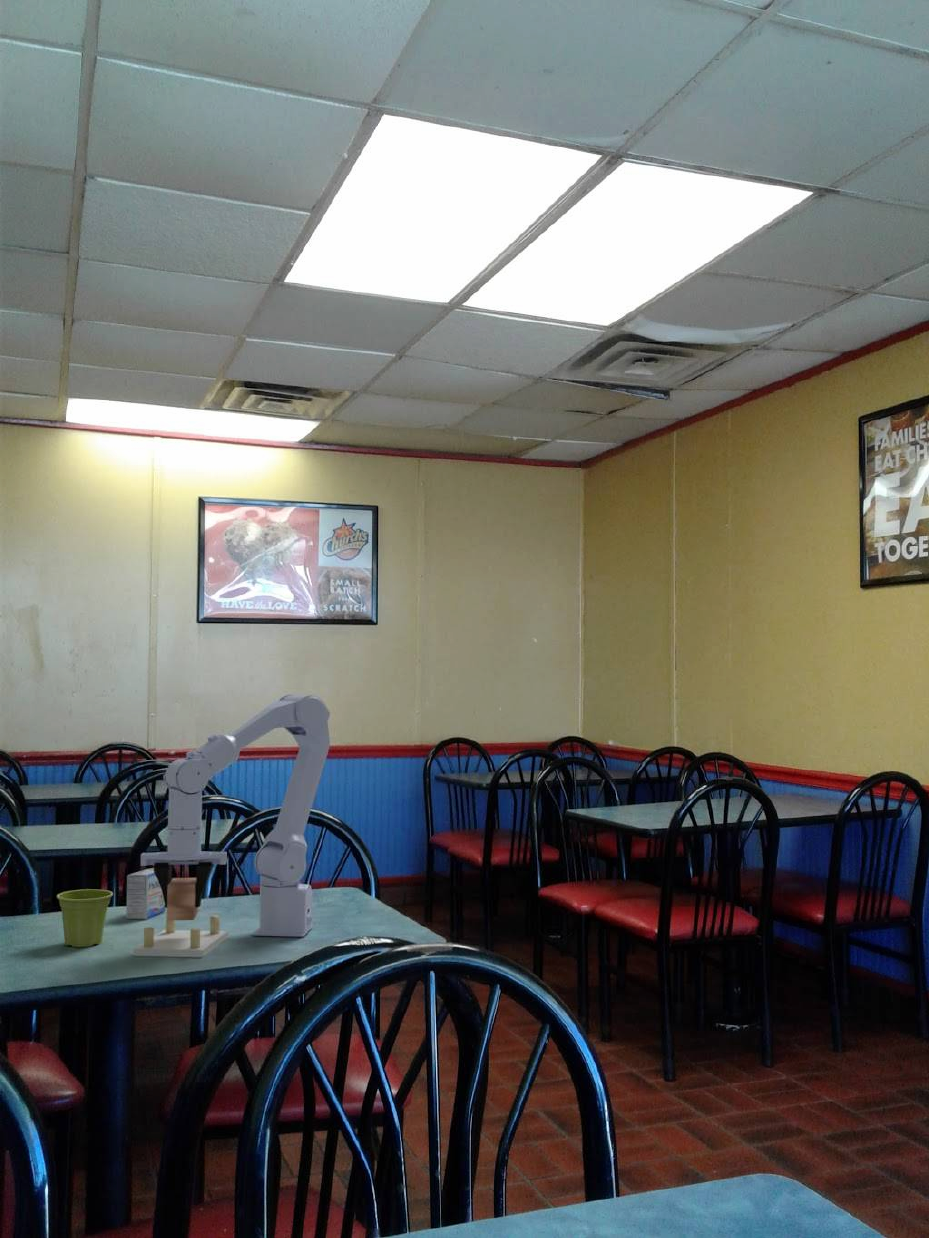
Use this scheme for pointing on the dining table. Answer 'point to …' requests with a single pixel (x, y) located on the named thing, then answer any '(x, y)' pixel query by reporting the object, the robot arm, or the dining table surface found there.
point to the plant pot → (84, 916)
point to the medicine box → (144, 895)
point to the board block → (181, 899)
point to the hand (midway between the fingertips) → (183, 906)
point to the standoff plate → (181, 941)
